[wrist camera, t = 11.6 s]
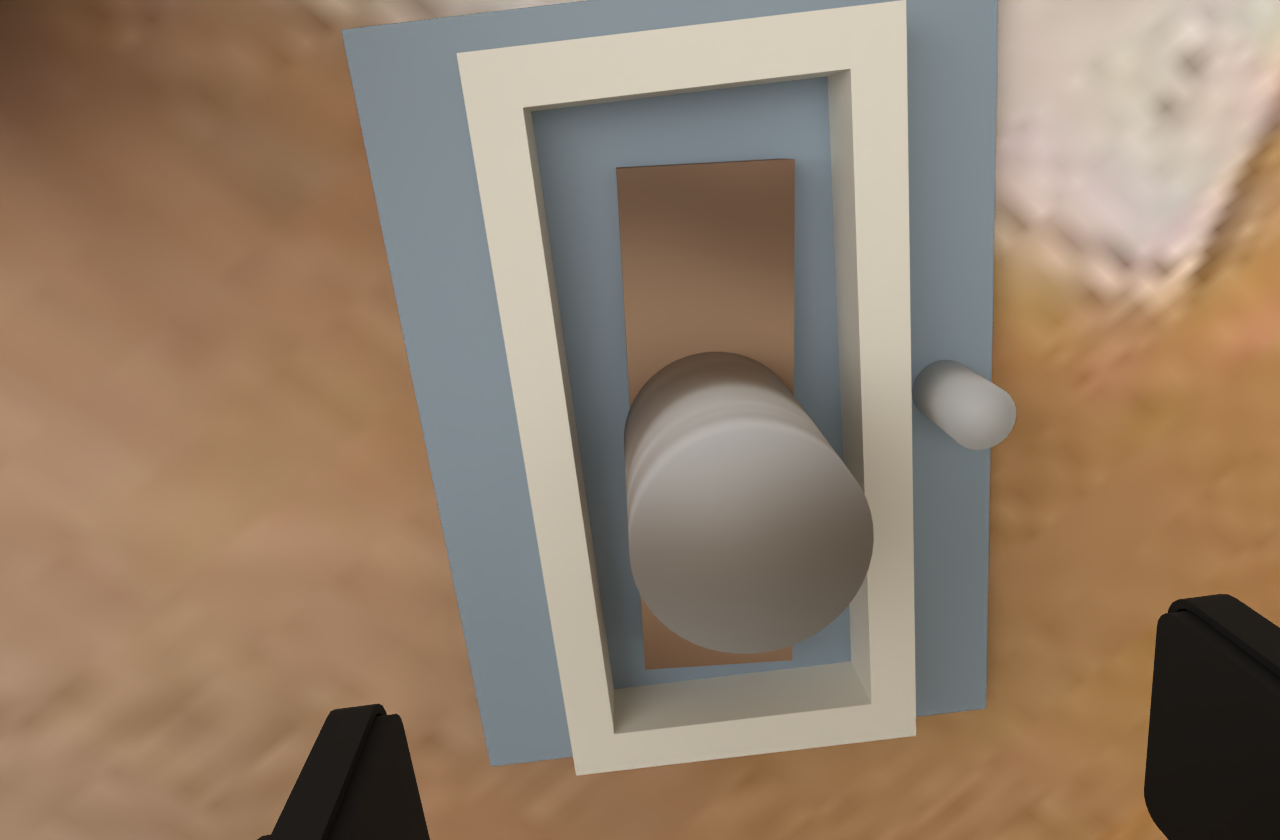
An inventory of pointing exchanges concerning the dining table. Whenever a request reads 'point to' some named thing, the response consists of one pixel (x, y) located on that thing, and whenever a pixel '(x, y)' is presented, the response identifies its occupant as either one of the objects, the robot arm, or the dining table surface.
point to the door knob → (726, 424)
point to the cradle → (597, 358)
